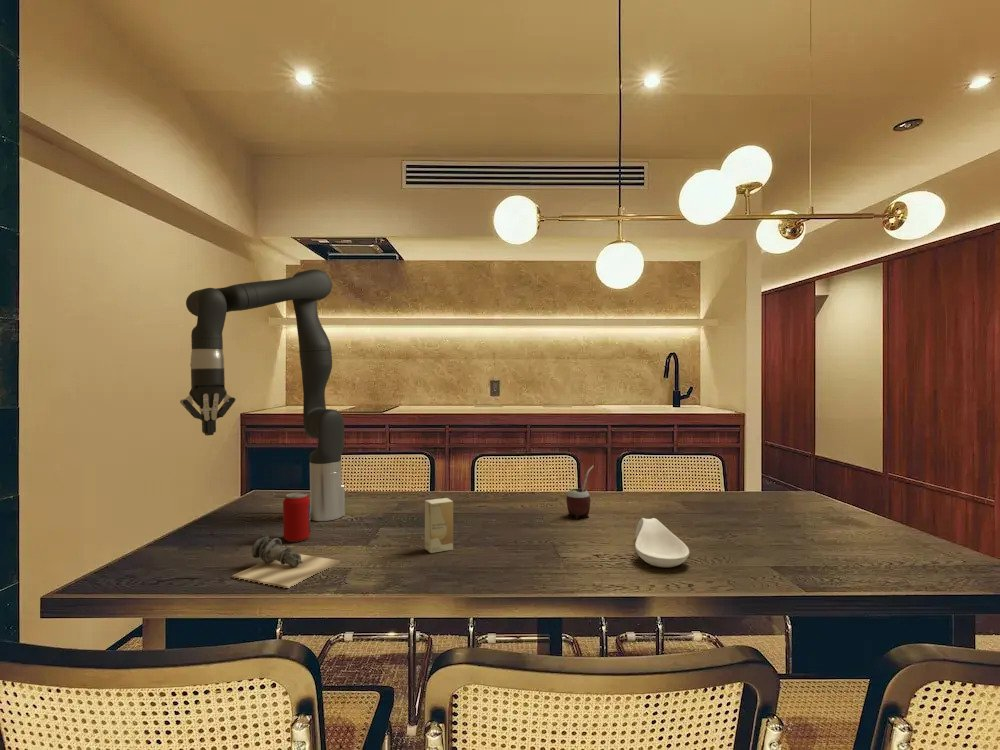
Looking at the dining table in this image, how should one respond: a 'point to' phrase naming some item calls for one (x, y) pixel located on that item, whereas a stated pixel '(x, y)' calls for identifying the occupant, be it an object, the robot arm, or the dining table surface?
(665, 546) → the spoon rest
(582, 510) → the mate gourd
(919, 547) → the dining table surface
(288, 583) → the birch board
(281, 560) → the grey chess piece
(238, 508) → the dining table surface
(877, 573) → the dining table surface
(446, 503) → the skincare box
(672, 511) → the dining table surface
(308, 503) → the beverage can
